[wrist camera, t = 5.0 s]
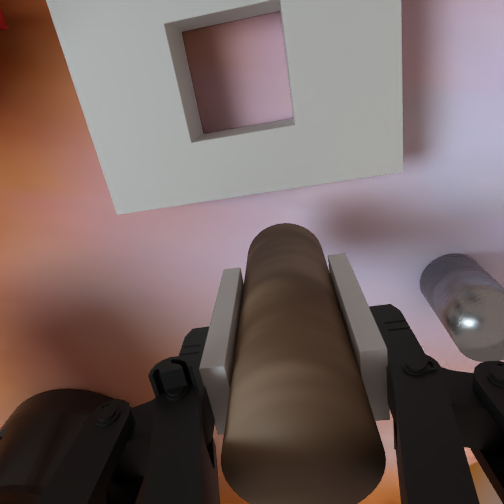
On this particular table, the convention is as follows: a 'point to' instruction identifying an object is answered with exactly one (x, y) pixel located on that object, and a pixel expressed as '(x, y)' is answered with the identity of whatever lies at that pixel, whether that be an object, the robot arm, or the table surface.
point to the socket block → (244, 138)
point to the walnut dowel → (296, 384)
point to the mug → (2, 21)
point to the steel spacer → (467, 305)
